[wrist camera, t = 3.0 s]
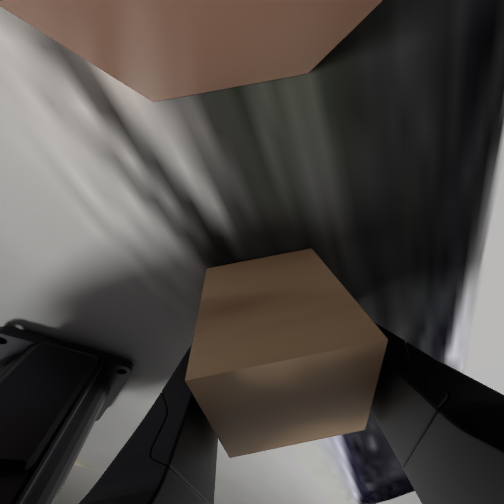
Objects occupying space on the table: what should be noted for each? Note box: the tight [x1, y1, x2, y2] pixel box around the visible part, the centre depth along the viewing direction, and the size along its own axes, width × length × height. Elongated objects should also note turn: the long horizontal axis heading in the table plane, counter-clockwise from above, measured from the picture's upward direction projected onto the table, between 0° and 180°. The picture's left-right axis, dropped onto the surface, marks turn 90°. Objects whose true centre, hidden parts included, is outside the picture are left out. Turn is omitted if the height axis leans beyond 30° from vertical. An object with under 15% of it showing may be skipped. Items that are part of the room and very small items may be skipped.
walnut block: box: [185, 248, 388, 458], centre depth 8 cm, size 5×5×5 cm
